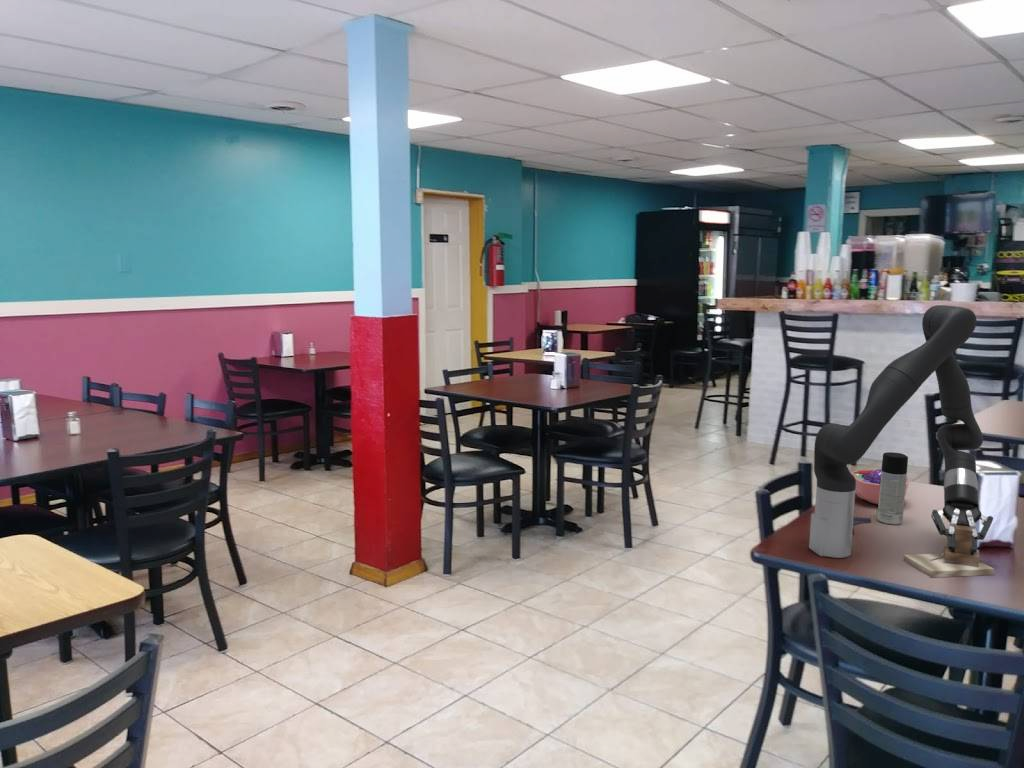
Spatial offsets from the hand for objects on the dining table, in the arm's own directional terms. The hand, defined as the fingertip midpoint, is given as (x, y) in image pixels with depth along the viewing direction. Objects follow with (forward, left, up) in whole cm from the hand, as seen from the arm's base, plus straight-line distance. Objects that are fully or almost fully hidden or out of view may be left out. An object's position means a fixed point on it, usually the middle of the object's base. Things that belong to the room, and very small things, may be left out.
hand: (962, 551), depth 190 cm
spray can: (+5, +37, -5) cm, 37 cm away
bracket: (-10, +34, -6) cm, 36 cm away
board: (-2, +2, -5) cm, 5 cm away
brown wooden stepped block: (+1, +2, -3) cm, 4 cm away
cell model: (+13, +56, -5) cm, 57 cm away
